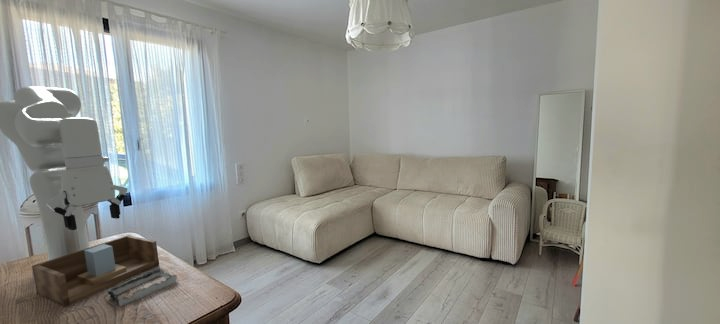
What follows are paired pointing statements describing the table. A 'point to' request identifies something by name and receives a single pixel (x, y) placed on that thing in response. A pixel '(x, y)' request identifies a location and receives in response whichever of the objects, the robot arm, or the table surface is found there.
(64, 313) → the table surface
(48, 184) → the robot arm
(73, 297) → the crate
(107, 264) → the block
